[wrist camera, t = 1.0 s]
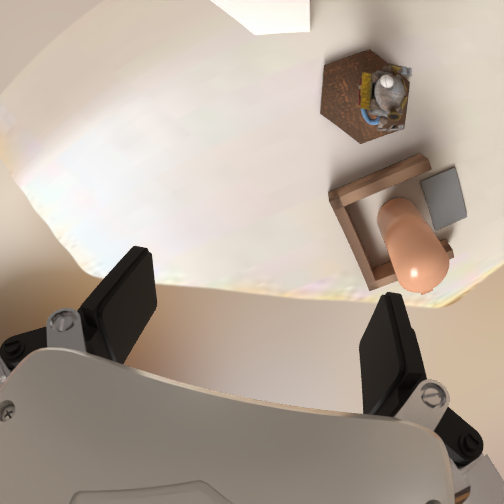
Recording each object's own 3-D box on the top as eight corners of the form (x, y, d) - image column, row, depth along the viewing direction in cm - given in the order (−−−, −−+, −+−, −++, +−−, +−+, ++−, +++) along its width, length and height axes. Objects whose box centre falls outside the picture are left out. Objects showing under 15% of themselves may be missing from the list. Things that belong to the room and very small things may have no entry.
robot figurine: (397, 152, 30) (434, 187, 20) (317, 139, 32) (321, 167, 22) (408, 59, 25) (454, 52, 14) (325, 43, 26) (333, 21, 16)
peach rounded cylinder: (410, 191, 32) (443, 234, 23) (426, 242, 35) (455, 295, 26) (370, 208, 34) (389, 256, 25) (389, 257, 37) (408, 314, 28)
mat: (454, 166, 29) (454, 167, 29) (465, 216, 32) (466, 216, 32) (420, 181, 31) (420, 182, 31) (434, 229, 34) (435, 230, 34)
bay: (420, 153, 30) (428, 159, 27) (446, 246, 35) (454, 257, 32) (328, 192, 35) (329, 201, 32) (367, 278, 40) (369, 291, 37)
